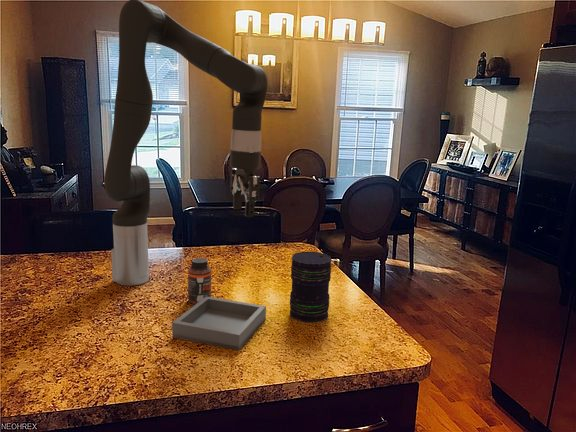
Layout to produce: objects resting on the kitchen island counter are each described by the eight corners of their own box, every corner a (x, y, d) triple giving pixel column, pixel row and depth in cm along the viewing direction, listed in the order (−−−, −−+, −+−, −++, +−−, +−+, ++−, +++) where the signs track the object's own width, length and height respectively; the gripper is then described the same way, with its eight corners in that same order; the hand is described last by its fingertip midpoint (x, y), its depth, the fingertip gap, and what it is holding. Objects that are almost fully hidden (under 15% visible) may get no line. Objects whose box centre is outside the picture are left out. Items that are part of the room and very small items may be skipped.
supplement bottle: (206, 306, 120) (206, 264, 117) (184, 304, 121) (183, 262, 118) (214, 298, 125) (214, 257, 123) (193, 295, 127) (193, 255, 124)
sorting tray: (172, 337, 103) (172, 322, 103) (206, 309, 118) (206, 296, 117) (239, 350, 99) (239, 335, 98) (265, 319, 114) (265, 306, 113)
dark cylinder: (301, 325, 111) (303, 265, 108) (282, 309, 119) (284, 254, 116) (336, 318, 116) (339, 261, 112) (315, 303, 124) (318, 249, 121)
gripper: (221, 145, 119) (220, 207, 123) (241, 151, 107) (239, 220, 111) (249, 145, 123) (246, 206, 127) (271, 152, 110) (268, 218, 114)
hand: (243, 212), depth 119 cm, fingers open, 8 cm apart
